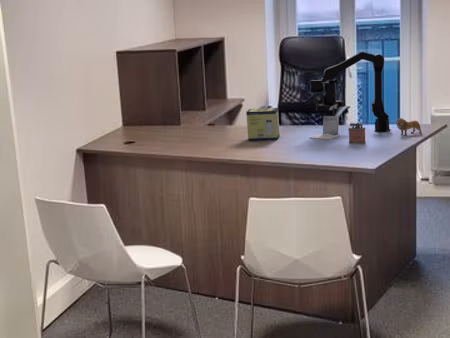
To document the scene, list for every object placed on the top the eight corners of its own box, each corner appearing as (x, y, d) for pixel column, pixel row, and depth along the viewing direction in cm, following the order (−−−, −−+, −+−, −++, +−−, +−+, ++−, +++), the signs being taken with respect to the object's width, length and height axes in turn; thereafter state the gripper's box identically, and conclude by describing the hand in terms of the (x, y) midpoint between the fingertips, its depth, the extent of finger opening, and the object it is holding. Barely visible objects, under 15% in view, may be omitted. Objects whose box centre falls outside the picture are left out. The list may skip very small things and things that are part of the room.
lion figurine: (400, 137, 354) (400, 119, 352) (393, 135, 358) (393, 118, 356) (424, 133, 359) (424, 115, 357) (417, 131, 364) (417, 114, 362)
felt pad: (339, 136, 367) (339, 135, 367) (329, 139, 360) (329, 138, 360) (320, 134, 375) (320, 133, 375) (309, 138, 368) (309, 137, 368)
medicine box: (337, 130, 376) (338, 115, 371) (338, 134, 372) (339, 120, 367) (322, 129, 377) (323, 115, 372) (322, 134, 373) (323, 120, 368)
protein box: (251, 137, 382) (249, 108, 379) (280, 136, 379) (278, 107, 375) (247, 141, 372) (245, 111, 369) (277, 140, 369) (275, 110, 366)
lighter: (366, 142, 347) (365, 122, 344) (365, 144, 343) (364, 123, 341) (349, 142, 349) (348, 122, 347) (348, 144, 346) (347, 123, 344)
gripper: (327, 89, 383) (328, 118, 387) (307, 94, 370) (308, 124, 373) (345, 90, 376) (346, 119, 379) (325, 94, 363) (326, 125, 366)
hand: (331, 122), depth 375 cm, fingers closed
